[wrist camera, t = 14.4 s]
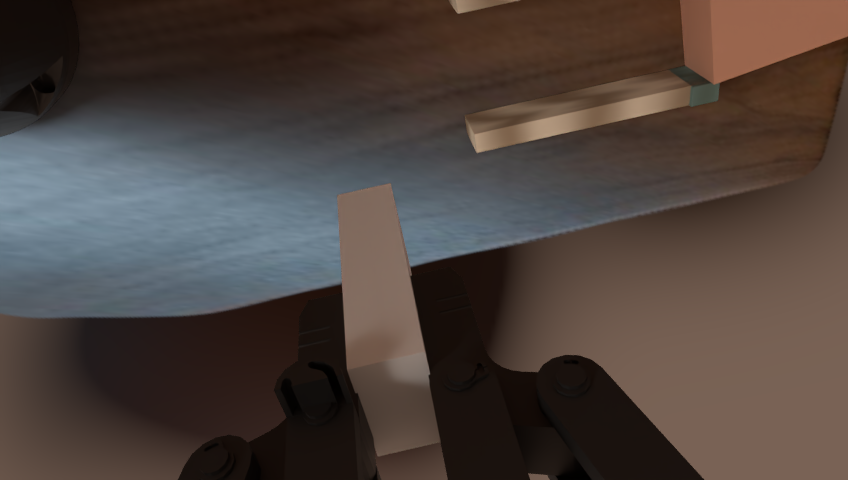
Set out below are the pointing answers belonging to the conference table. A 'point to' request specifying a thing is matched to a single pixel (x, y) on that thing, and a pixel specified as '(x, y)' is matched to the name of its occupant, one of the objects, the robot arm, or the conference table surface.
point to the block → (755, 32)
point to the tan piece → (583, 102)
